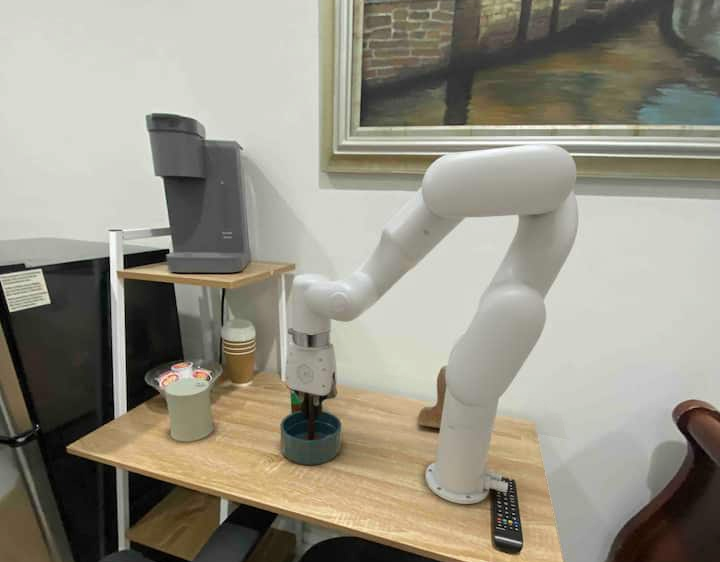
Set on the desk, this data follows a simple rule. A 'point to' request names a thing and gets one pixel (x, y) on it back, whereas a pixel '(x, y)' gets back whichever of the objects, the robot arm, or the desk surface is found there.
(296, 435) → the bowl
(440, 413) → the brown wooden bookend
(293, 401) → the food container
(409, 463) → the desk surface
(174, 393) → the can
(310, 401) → the brown peg stand
